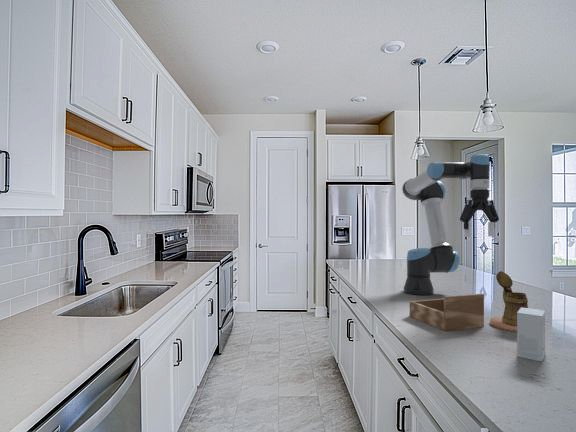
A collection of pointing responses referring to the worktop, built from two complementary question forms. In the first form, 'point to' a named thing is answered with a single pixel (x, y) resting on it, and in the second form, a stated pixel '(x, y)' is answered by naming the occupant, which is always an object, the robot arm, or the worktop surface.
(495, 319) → the peach round disc
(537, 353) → the small box
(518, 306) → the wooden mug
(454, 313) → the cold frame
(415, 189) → the robot arm
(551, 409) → the worktop surface
